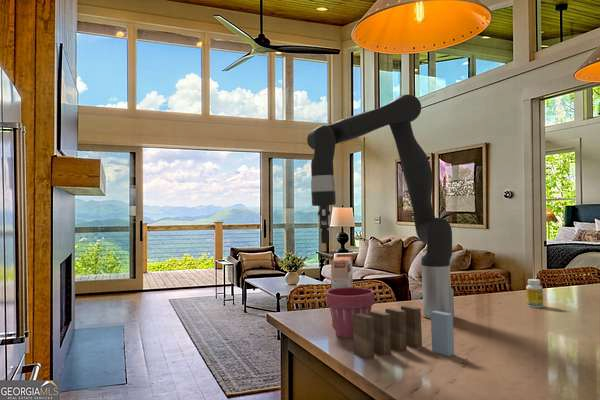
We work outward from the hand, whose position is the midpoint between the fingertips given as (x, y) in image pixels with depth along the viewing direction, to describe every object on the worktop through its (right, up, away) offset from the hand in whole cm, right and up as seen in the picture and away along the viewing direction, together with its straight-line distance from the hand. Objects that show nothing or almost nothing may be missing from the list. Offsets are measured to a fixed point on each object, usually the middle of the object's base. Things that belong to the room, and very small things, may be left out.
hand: (325, 242), depth 148 cm
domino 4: (+22, -26, -21) cm, 40 cm away
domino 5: (+28, -25, -29) cm, 47 cm away
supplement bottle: (+77, -26, +23) cm, 84 cm away
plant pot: (+7, -27, -9) cm, 29 cm away
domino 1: (+8, -26, -29) cm, 40 cm away
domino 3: (+17, -26, -24) cm, 39 cm away
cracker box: (+6, -27, +7) cm, 29 cm away
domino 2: (+13, -26, -27) cm, 39 cm away
